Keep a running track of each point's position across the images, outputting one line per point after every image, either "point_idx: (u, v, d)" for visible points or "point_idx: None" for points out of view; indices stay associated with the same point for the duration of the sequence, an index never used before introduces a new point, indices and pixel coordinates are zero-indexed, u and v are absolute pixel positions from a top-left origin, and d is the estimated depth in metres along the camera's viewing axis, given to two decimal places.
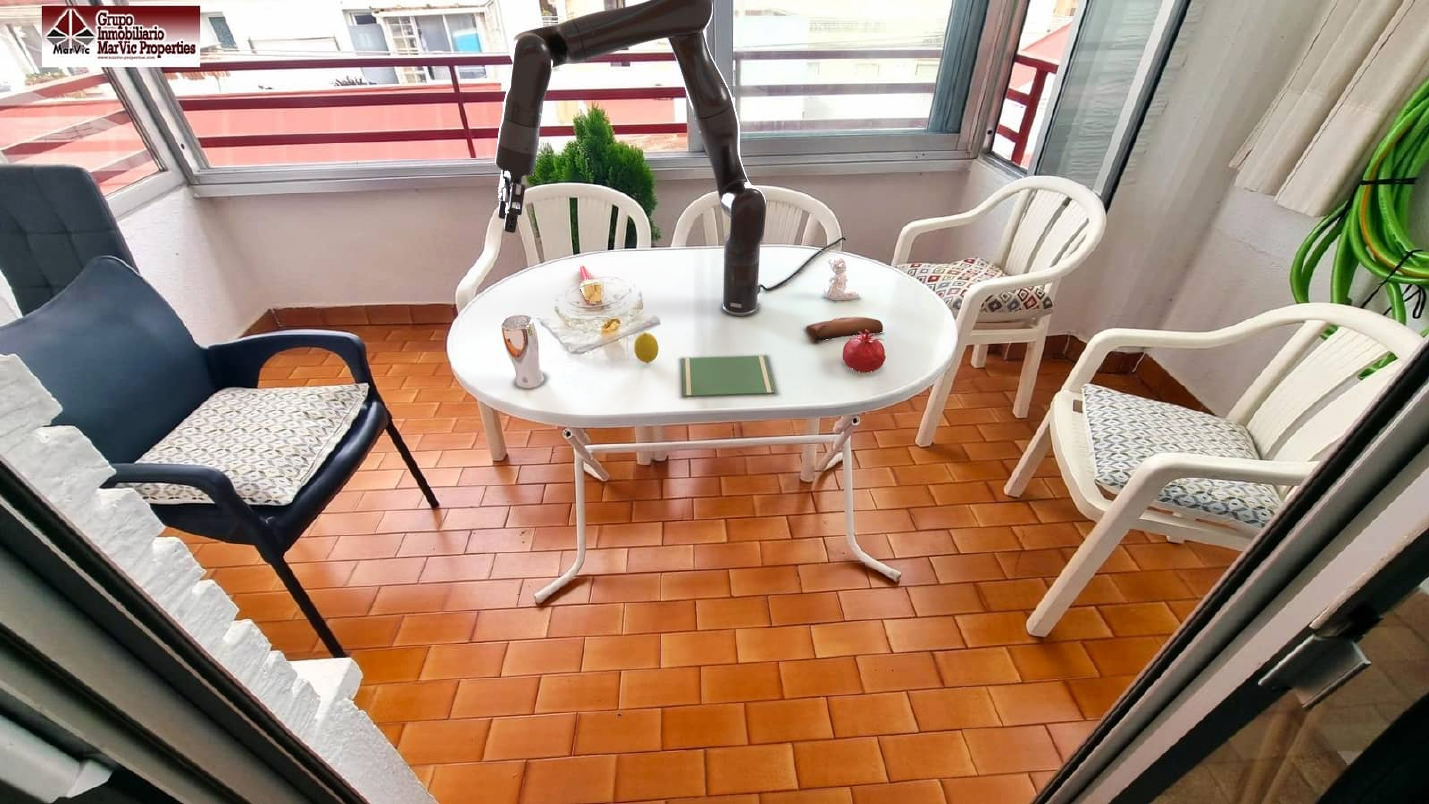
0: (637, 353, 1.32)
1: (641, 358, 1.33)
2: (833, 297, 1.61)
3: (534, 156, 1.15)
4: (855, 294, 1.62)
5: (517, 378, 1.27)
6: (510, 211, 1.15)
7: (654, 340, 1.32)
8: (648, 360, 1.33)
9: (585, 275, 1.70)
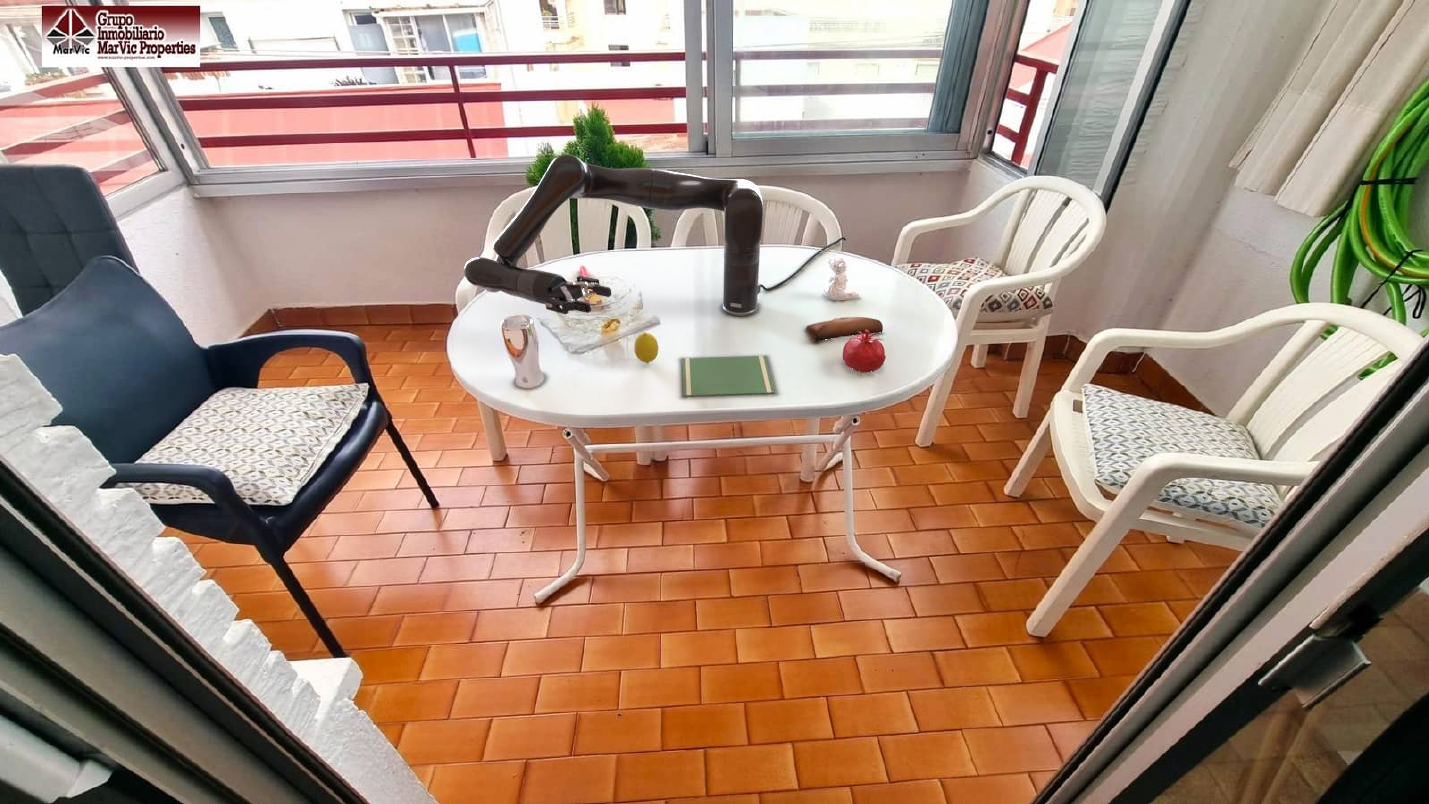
0: (637, 353, 1.32)
1: (641, 358, 1.33)
2: (833, 297, 1.61)
3: (536, 279, 1.33)
4: (855, 294, 1.62)
5: (517, 378, 1.27)
6: (564, 313, 1.28)
7: (654, 340, 1.32)
8: (648, 360, 1.33)
9: (585, 275, 1.70)
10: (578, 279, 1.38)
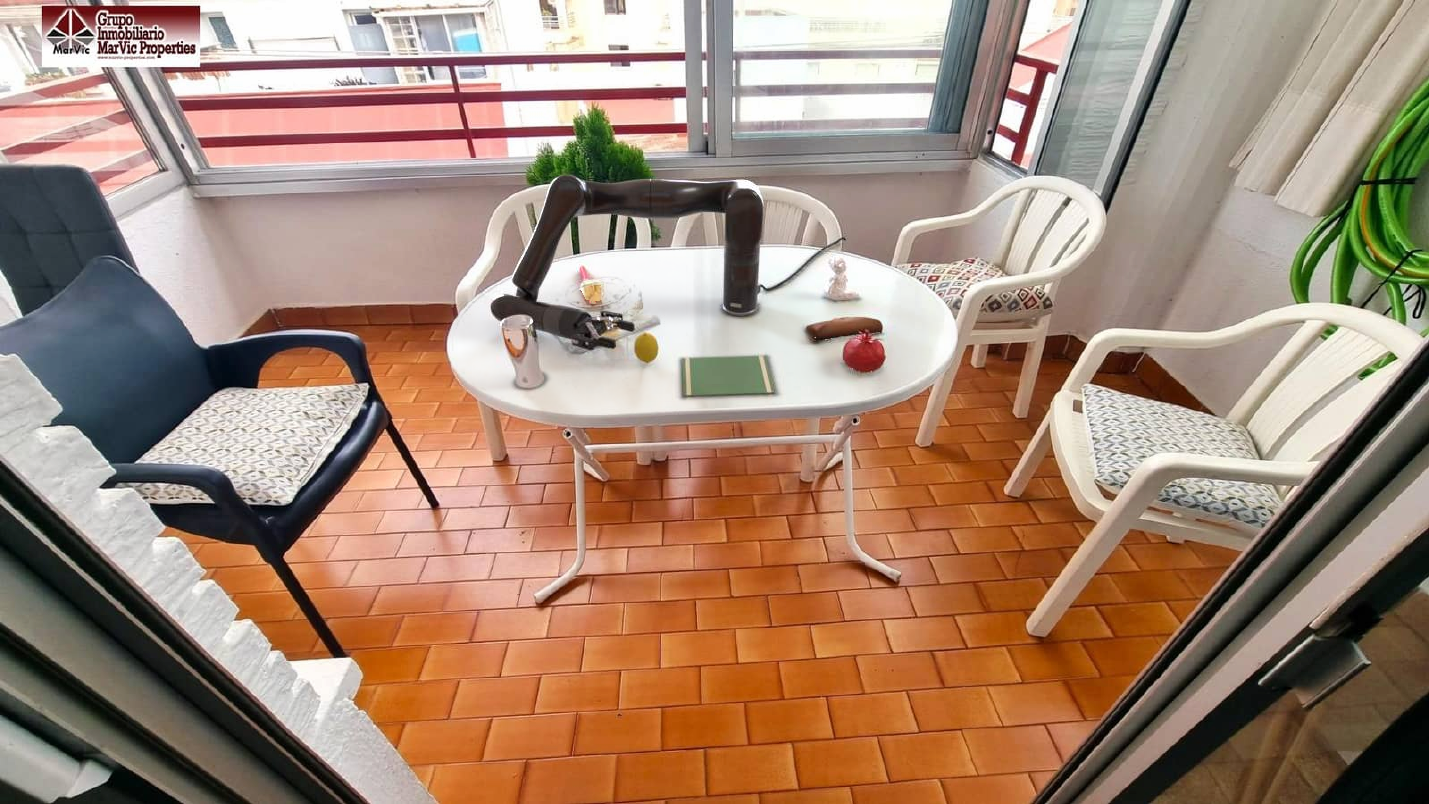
0: (637, 353, 1.32)
1: (641, 358, 1.33)
2: (833, 297, 1.61)
3: (561, 315, 1.36)
4: (855, 294, 1.62)
5: (517, 378, 1.27)
6: (590, 349, 1.31)
7: (654, 340, 1.32)
8: (648, 360, 1.33)
9: (585, 275, 1.70)
10: (602, 314, 1.41)
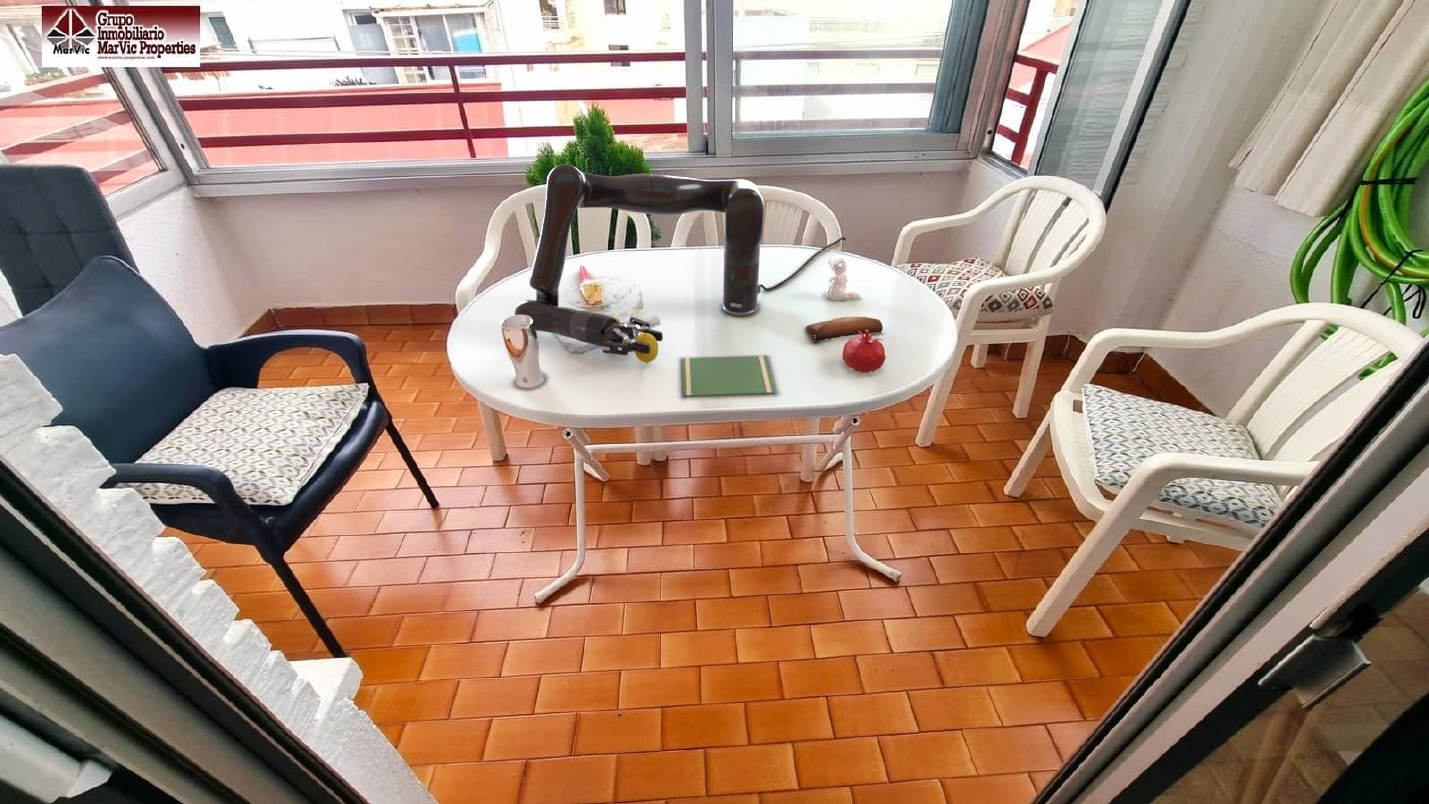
0: (637, 353, 1.32)
1: (641, 358, 1.33)
2: (833, 297, 1.61)
3: (588, 321, 1.33)
4: (855, 294, 1.62)
5: (517, 378, 1.27)
6: (624, 354, 1.29)
7: (654, 340, 1.32)
8: (648, 360, 1.33)
9: (585, 275, 1.70)
10: (631, 320, 1.38)
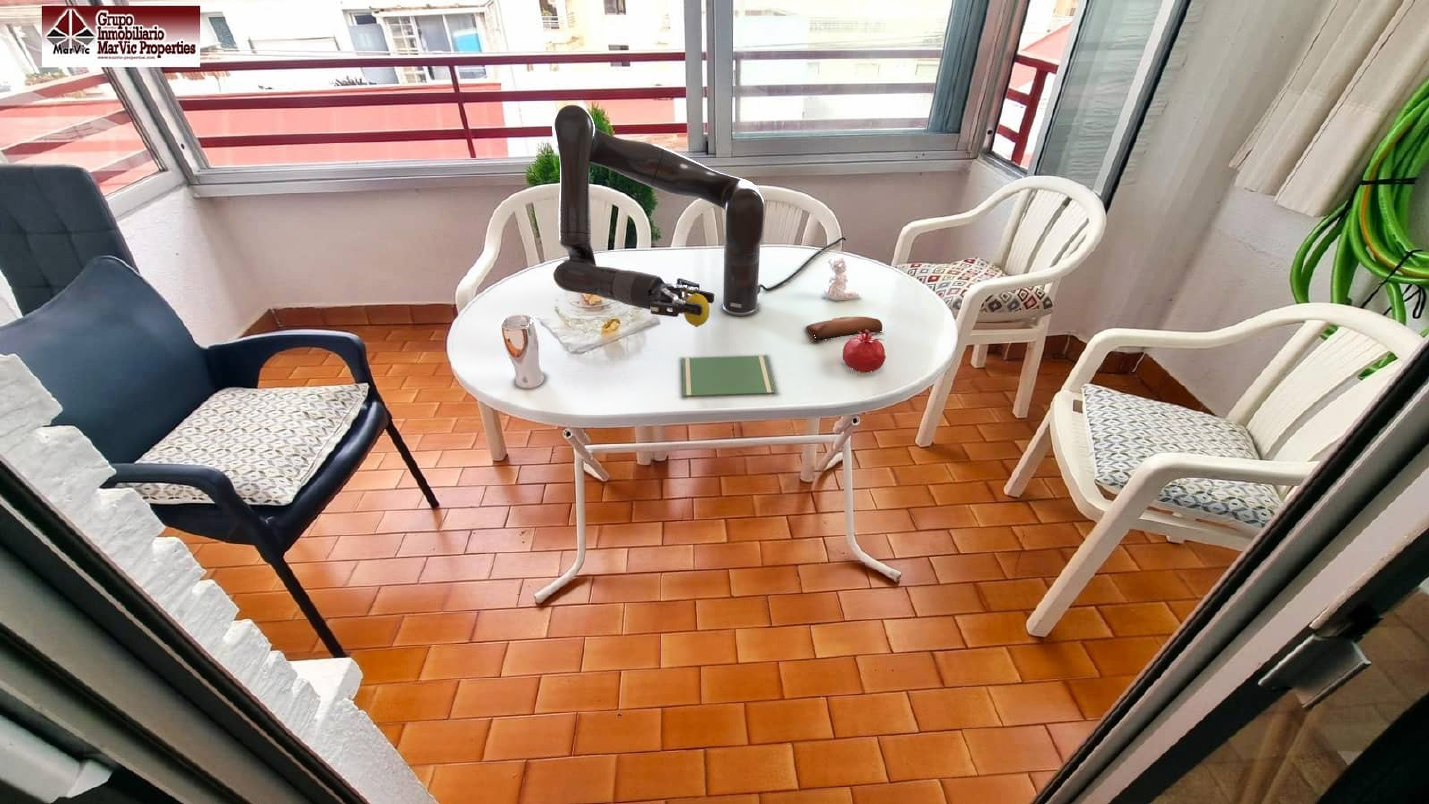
0: (687, 315, 1.22)
1: (691, 321, 1.23)
2: (833, 297, 1.61)
3: (634, 281, 1.24)
4: (855, 294, 1.62)
5: (517, 378, 1.27)
6: (674, 315, 1.20)
7: (706, 301, 1.22)
8: (699, 323, 1.23)
9: None
10: (678, 281, 1.28)
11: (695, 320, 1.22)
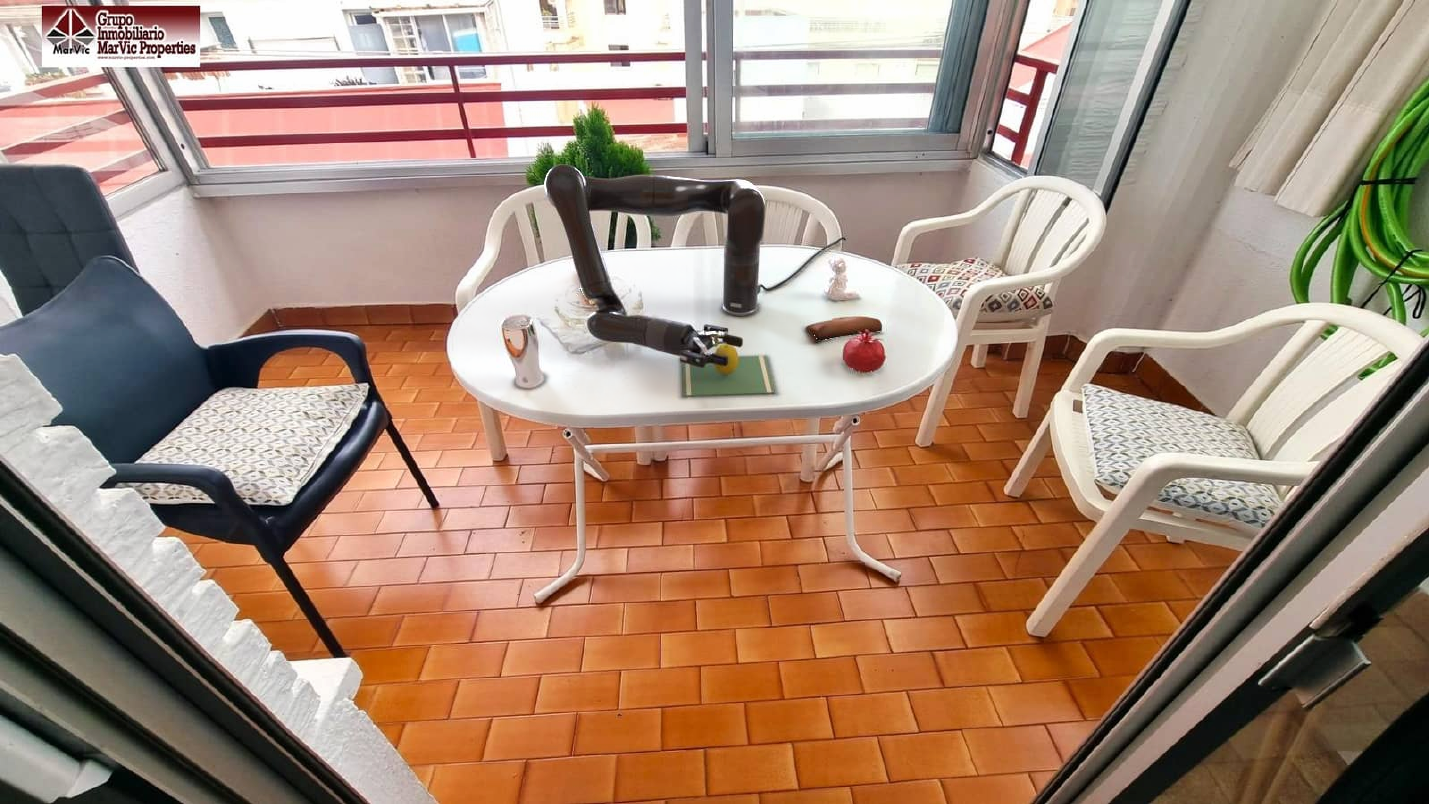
0: (717, 365, 1.28)
1: (721, 370, 1.28)
2: (833, 297, 1.61)
3: (667, 330, 1.28)
4: (855, 294, 1.62)
5: (517, 378, 1.27)
6: (701, 366, 1.24)
7: (735, 352, 1.27)
8: (728, 372, 1.28)
9: None
10: (705, 328, 1.34)
11: (725, 370, 1.27)
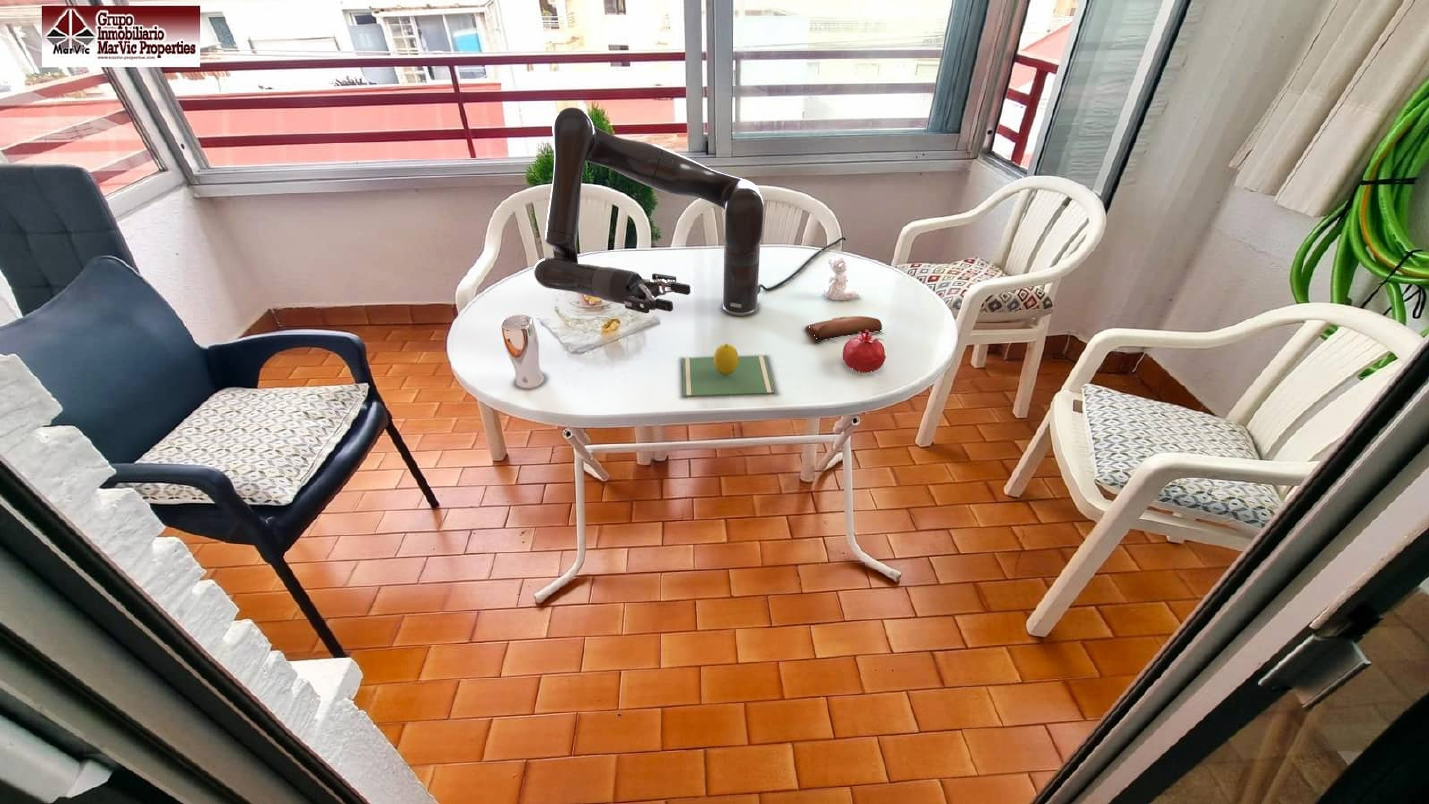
0: (717, 365, 1.28)
1: (721, 370, 1.28)
2: (833, 297, 1.61)
3: (612, 277, 1.26)
4: (855, 294, 1.62)
5: (517, 378, 1.27)
6: (645, 312, 1.22)
7: (735, 352, 1.27)
8: (728, 372, 1.28)
9: None
10: (654, 276, 1.32)
11: (725, 370, 1.27)
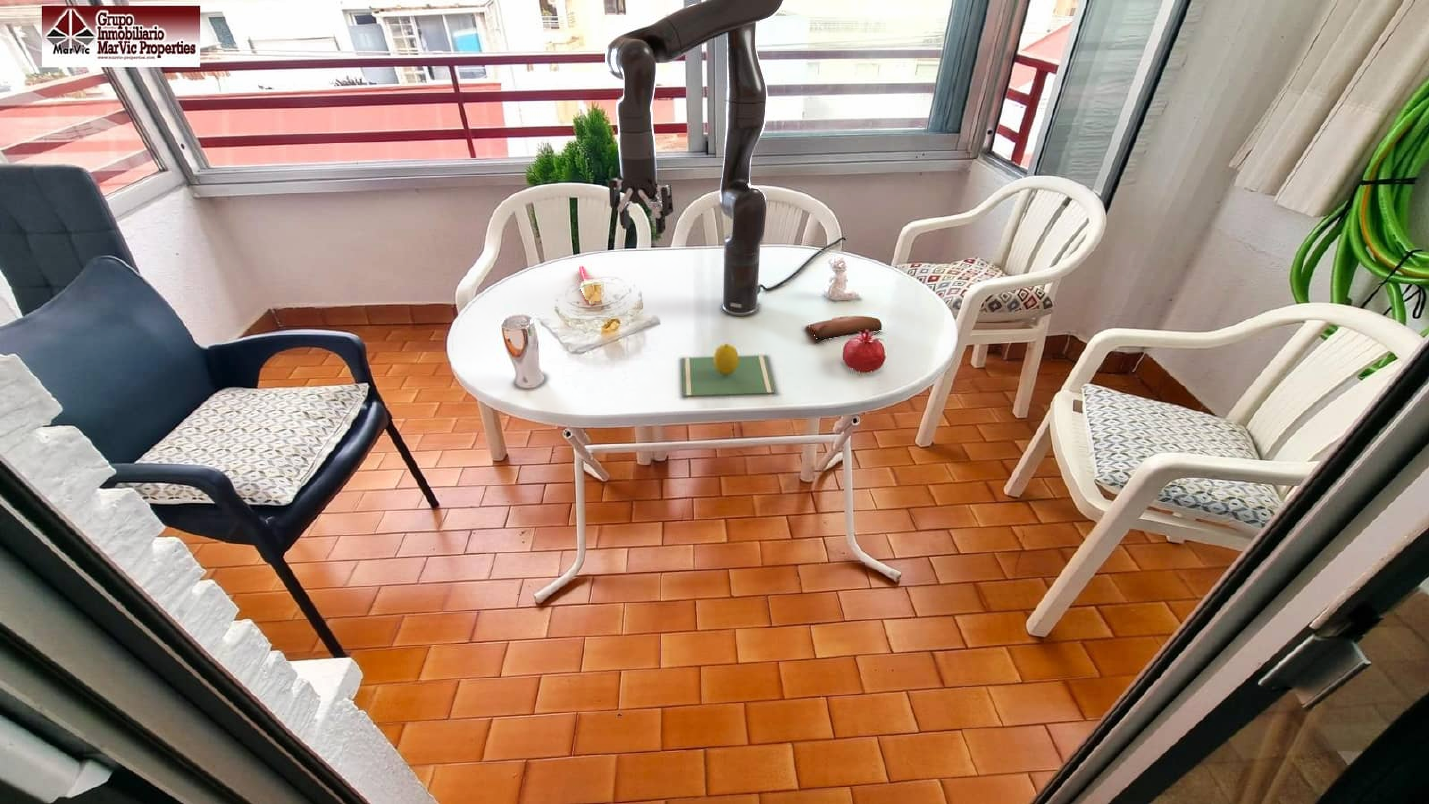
0: (717, 365, 1.28)
1: (721, 370, 1.28)
2: (833, 297, 1.61)
3: None
4: (855, 294, 1.62)
5: (517, 378, 1.27)
6: (668, 213, 1.22)
7: (735, 352, 1.27)
8: (728, 372, 1.28)
9: (584, 275, 1.70)
10: None
11: (725, 370, 1.27)
